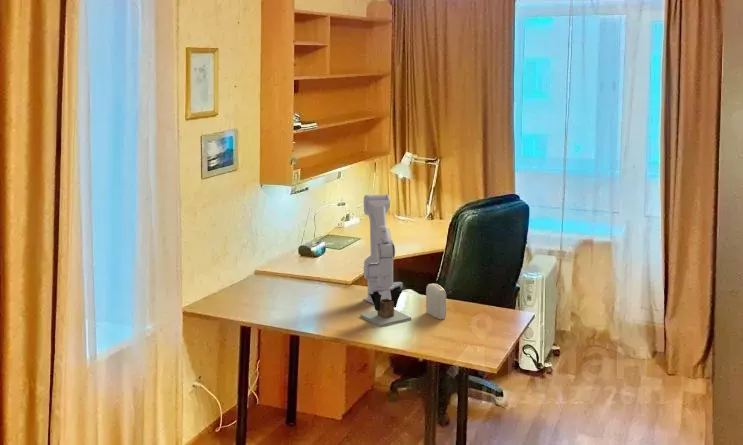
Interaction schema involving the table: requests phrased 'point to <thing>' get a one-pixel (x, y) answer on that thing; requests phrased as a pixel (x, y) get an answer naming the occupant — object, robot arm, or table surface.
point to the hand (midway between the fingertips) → (385, 308)
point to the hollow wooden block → (386, 308)
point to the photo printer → (436, 301)
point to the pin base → (381, 321)
